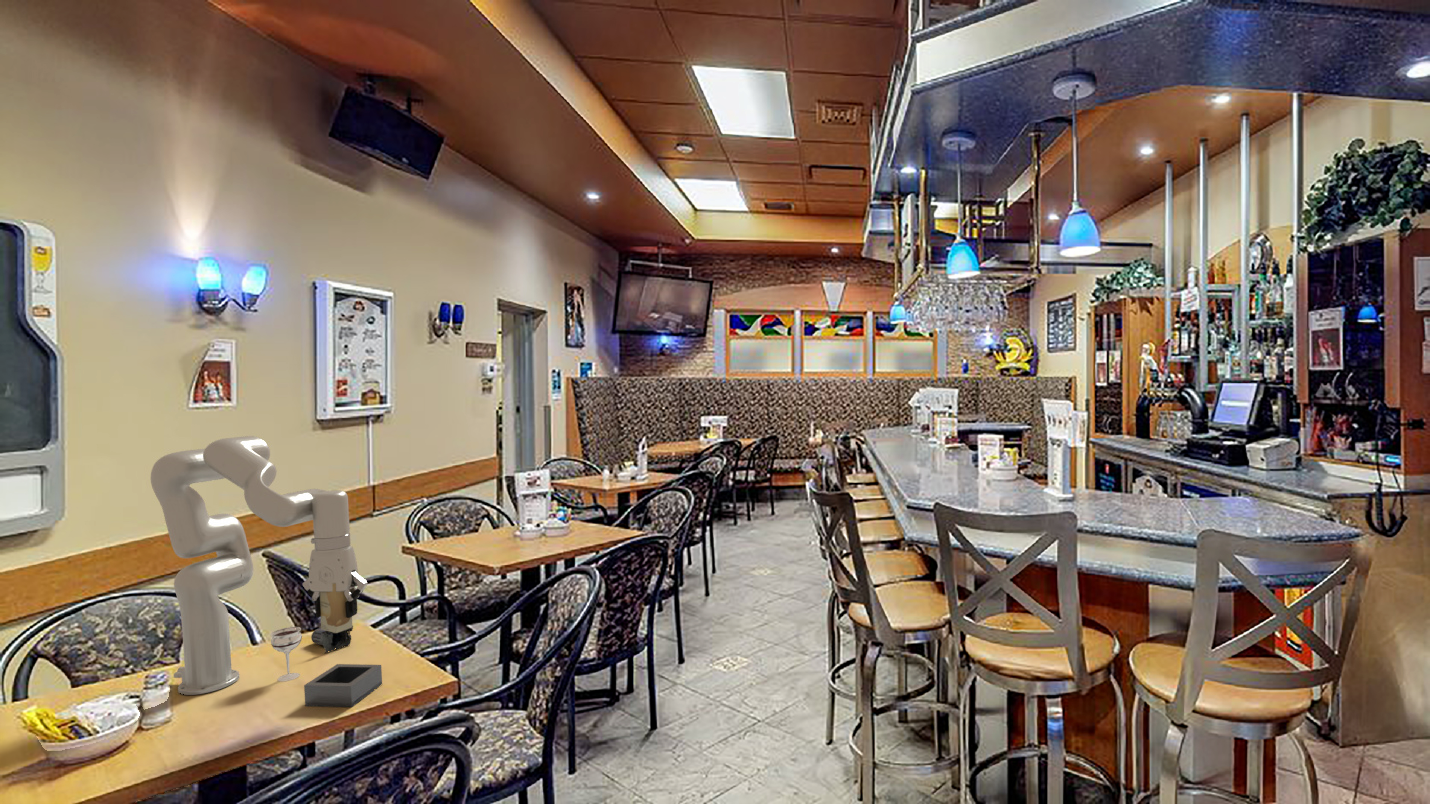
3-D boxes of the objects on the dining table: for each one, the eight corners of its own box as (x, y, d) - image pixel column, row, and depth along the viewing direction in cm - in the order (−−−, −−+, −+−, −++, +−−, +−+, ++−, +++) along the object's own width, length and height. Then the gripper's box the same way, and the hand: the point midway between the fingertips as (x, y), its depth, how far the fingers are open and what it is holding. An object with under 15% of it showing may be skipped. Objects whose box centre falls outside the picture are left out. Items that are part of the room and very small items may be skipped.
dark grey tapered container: (351, 650, 198) (328, 645, 204) (354, 622, 199) (330, 618, 205) (320, 655, 190) (297, 650, 196) (323, 627, 191) (300, 622, 197)
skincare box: (320, 629, 164) (317, 579, 164) (337, 623, 168) (335, 574, 168) (336, 633, 161) (334, 582, 161) (354, 627, 165) (351, 577, 164)
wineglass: (309, 671, 180) (307, 626, 180) (291, 683, 174) (288, 636, 173) (285, 671, 181) (283, 626, 181) (266, 682, 174) (264, 636, 174)
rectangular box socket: (305, 706, 161) (304, 685, 160) (338, 683, 172) (337, 664, 172) (352, 707, 159) (350, 686, 159) (382, 684, 171) (381, 664, 171)
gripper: (287, 546, 161) (292, 621, 162) (355, 546, 159) (360, 621, 160) (310, 539, 169) (314, 610, 169) (375, 538, 166) (379, 610, 167)
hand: (336, 615), depth 164 cm, fingers closed on skincare box, 7 cm apart
